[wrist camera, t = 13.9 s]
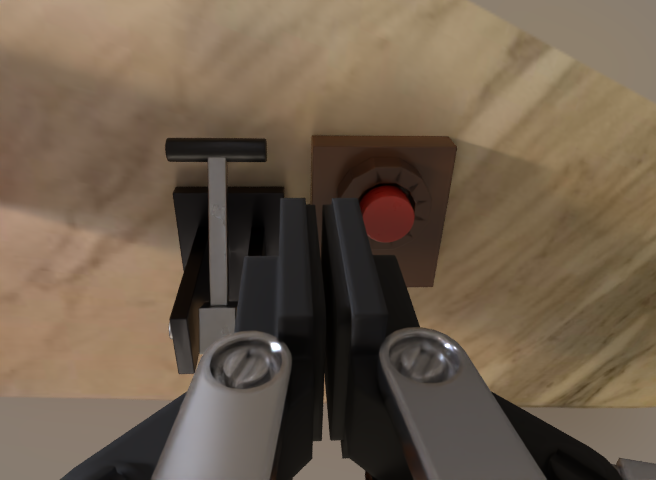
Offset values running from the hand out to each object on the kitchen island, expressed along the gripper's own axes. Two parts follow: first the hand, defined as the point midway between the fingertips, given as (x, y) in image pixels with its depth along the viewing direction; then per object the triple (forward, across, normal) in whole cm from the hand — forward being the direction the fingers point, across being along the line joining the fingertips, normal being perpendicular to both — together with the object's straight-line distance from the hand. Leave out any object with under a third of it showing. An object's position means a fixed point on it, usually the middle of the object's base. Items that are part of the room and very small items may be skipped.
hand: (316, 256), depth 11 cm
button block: (+25, -6, +12) cm, 28 cm away
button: (+21, -6, +10) cm, 24 cm away
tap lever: (+19, +5, +11) cm, 22 cm away
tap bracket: (+25, +5, +15) cm, 30 cm away
